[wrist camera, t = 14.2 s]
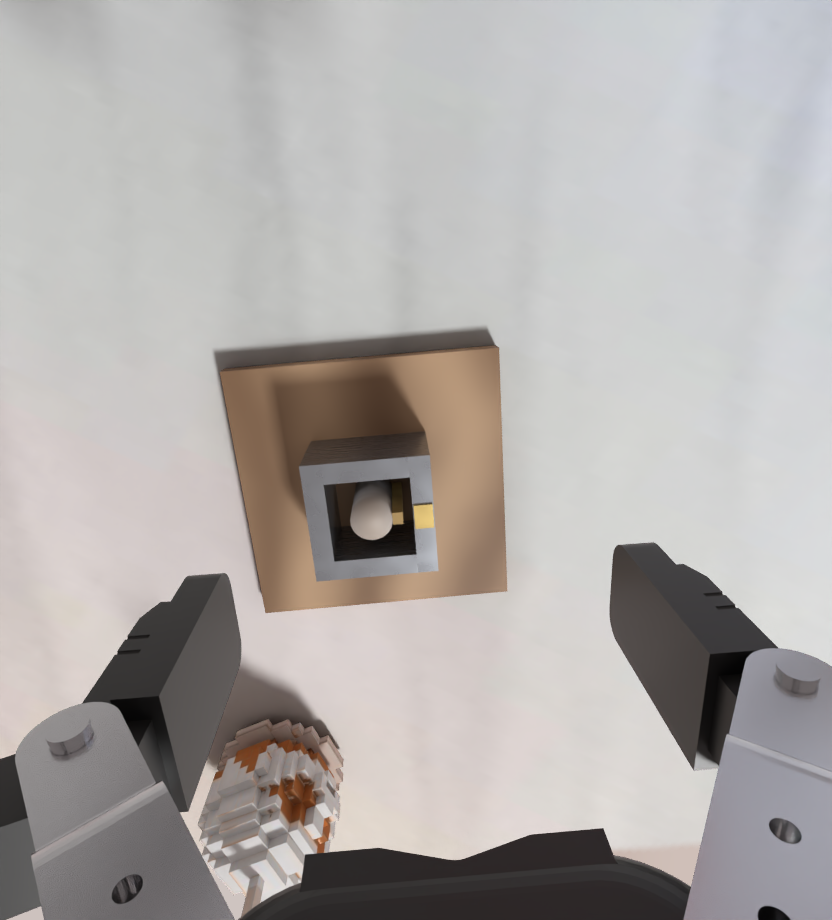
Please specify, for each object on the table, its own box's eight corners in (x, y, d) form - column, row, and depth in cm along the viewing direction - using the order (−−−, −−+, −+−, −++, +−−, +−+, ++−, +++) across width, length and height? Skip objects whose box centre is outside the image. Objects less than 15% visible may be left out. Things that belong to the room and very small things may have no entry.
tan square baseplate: (269, 603, 34) (249, 657, 30) (225, 368, 30) (193, 388, 25) (504, 582, 35) (521, 632, 30) (495, 345, 30) (514, 360, 25)
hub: (325, 544, 32) (316, 582, 28) (310, 441, 30) (298, 467, 26) (433, 534, 32) (438, 571, 28) (425, 431, 30) (430, 455, 26)
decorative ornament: (362, 781, 39) (344, 1076, 25) (259, 820, 40) (186, 1127, 26) (309, 696, 37) (256, 970, 23) (201, 739, 38) (84, 1029, 23)
